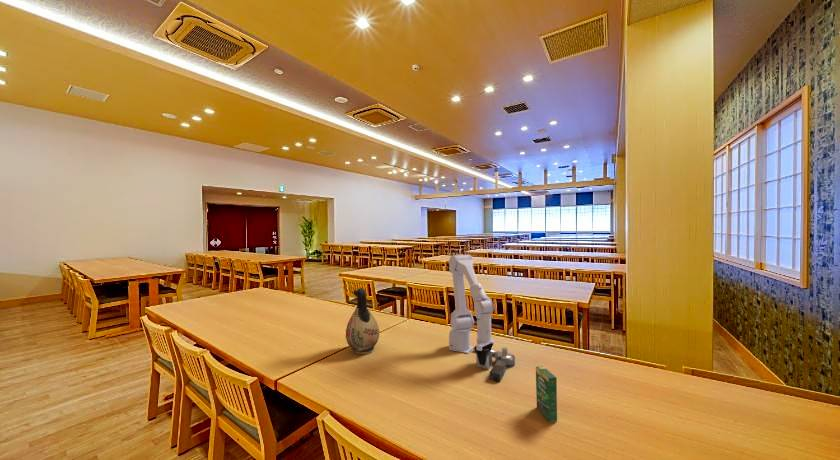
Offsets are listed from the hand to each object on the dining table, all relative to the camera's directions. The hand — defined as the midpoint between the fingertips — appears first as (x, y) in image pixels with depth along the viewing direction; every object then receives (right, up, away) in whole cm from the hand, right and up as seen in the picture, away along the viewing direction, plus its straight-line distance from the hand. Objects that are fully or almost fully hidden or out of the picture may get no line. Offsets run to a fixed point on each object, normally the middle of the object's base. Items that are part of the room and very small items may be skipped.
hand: (484, 361), depth 126 cm
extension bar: (+3, -1, +12) cm, 12 cm away
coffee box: (+12, -2, -33) cm, 35 cm away
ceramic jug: (-53, -2, +16) cm, 55 cm away
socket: (0, -2, 0) cm, 2 cm away
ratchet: (+6, -2, -4) cm, 7 cm away
